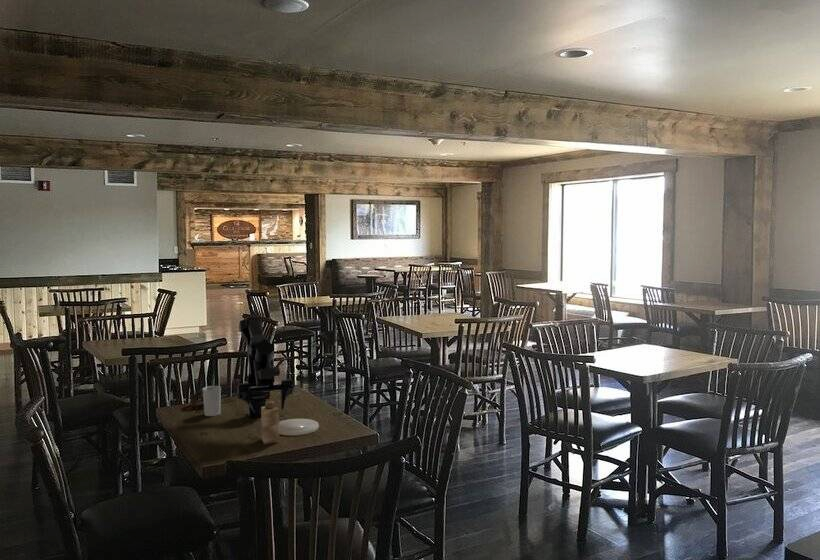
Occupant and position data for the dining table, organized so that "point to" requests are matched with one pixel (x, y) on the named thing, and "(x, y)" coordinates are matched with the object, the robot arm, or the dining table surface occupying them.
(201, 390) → the pottery mug
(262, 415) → the pepper mill
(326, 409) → the dining table surface
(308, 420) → the cream plate
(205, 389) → the drinking glass
